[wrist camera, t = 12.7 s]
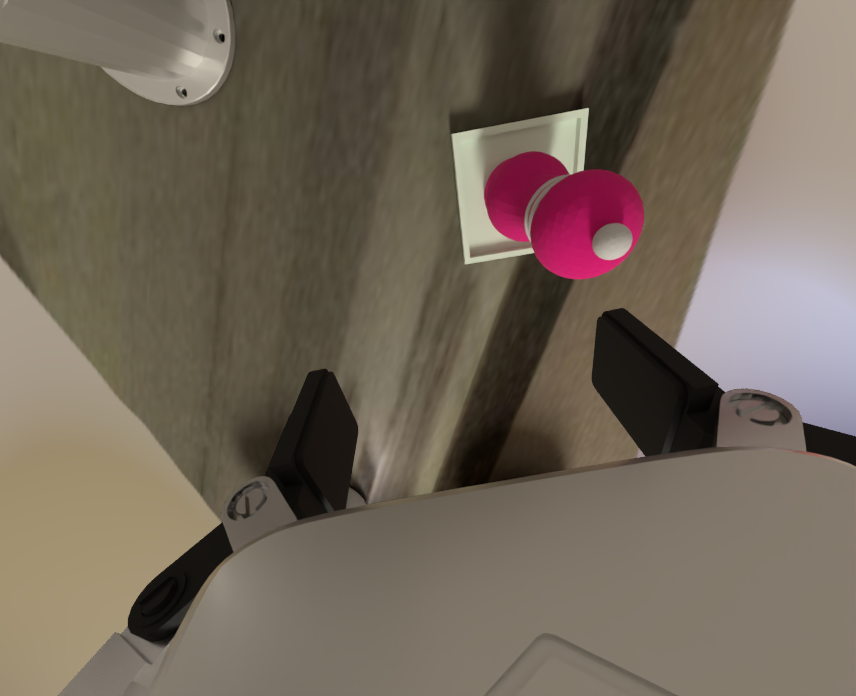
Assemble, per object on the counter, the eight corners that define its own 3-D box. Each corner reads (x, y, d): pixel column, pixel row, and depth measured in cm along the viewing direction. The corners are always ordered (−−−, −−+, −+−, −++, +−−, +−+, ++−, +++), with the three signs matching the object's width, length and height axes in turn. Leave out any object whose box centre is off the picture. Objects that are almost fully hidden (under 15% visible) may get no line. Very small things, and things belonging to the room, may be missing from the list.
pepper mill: (491, 141, 30) (587, 140, 13) (563, 160, 31) (737, 181, 14) (470, 221, 34) (523, 301, 17) (535, 236, 35) (645, 324, 18)
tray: (450, 134, 30) (451, 133, 29) (581, 109, 30) (588, 107, 28) (463, 260, 37) (465, 264, 35) (571, 242, 36) (577, 245, 35)
